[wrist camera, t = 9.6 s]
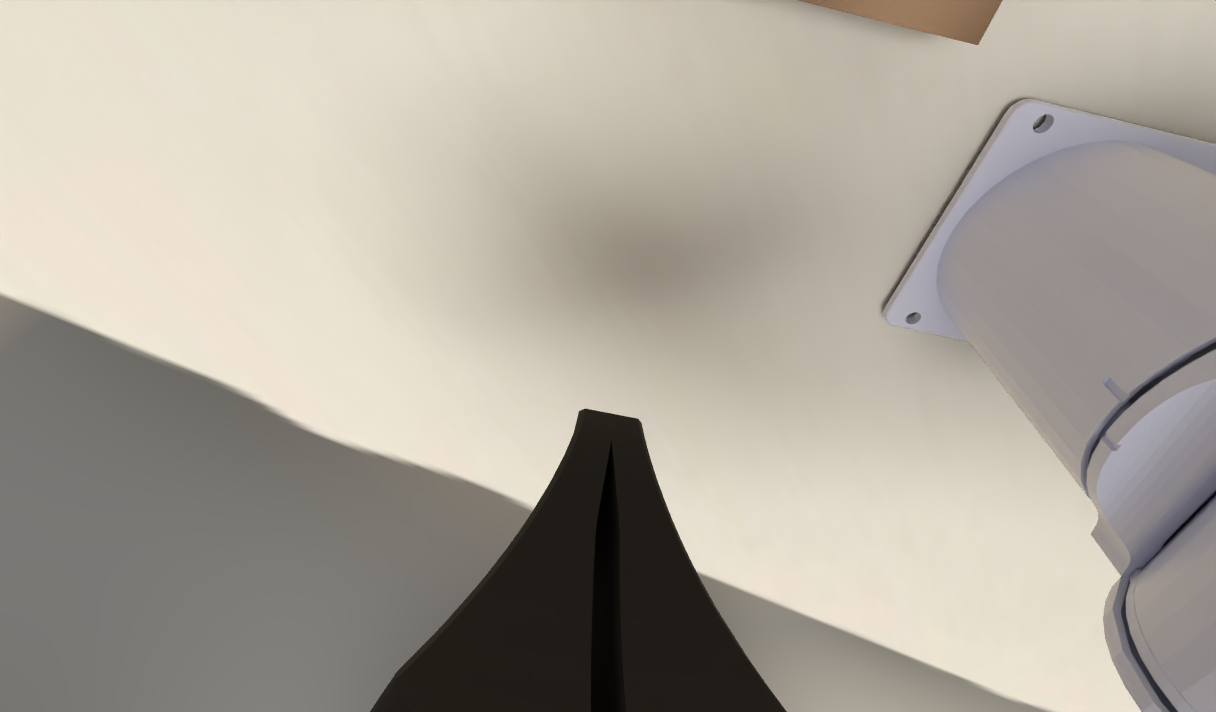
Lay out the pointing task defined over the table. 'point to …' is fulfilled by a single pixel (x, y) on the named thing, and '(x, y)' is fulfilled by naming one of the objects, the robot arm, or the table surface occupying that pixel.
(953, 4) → the guide rails
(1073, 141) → the robot arm
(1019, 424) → the table surface
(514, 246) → the table surface
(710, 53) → the table surface
